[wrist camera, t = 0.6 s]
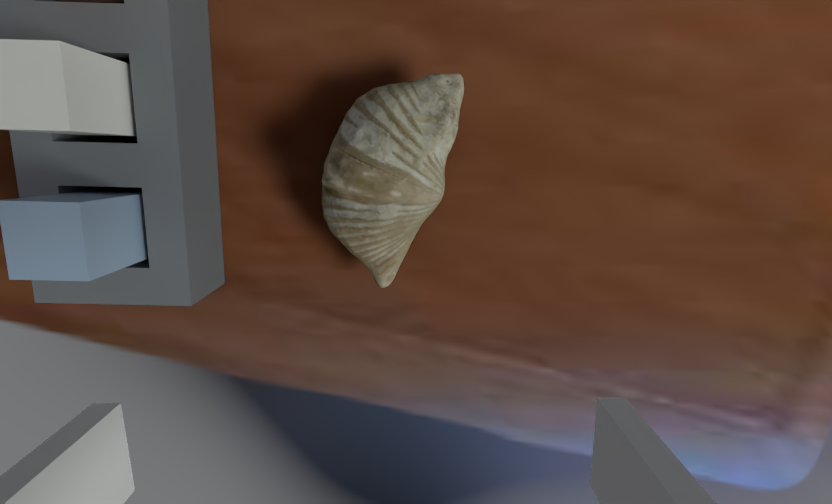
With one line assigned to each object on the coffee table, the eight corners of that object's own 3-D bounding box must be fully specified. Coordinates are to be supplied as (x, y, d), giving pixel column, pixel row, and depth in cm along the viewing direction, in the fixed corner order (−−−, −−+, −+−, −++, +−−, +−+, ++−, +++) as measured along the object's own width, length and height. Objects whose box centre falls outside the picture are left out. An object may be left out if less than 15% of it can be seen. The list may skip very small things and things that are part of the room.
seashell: (425, 304, 33) (358, 240, 25) (333, 270, 38) (253, 207, 30) (499, 148, 37) (463, 50, 29) (407, 135, 42) (354, 47, 34)
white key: (68, 64, 31) (-30, 38, 24) (137, 66, 31) (59, 40, 24) (77, 134, 32) (-15, 128, 25) (143, 136, 32) (70, 131, 25)
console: (46, -100, 33) (-34, -156, 27) (201, -94, 33) (155, -149, 27) (92, 280, 38) (35, 302, 32) (224, 283, 38) (191, 305, 33)
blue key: (83, 191, 33) (-4, 200, 26) (149, 192, 33) (79, 202, 26) (91, 254, 34) (9, 279, 27) (154, 256, 34) (89, 281, 27)
